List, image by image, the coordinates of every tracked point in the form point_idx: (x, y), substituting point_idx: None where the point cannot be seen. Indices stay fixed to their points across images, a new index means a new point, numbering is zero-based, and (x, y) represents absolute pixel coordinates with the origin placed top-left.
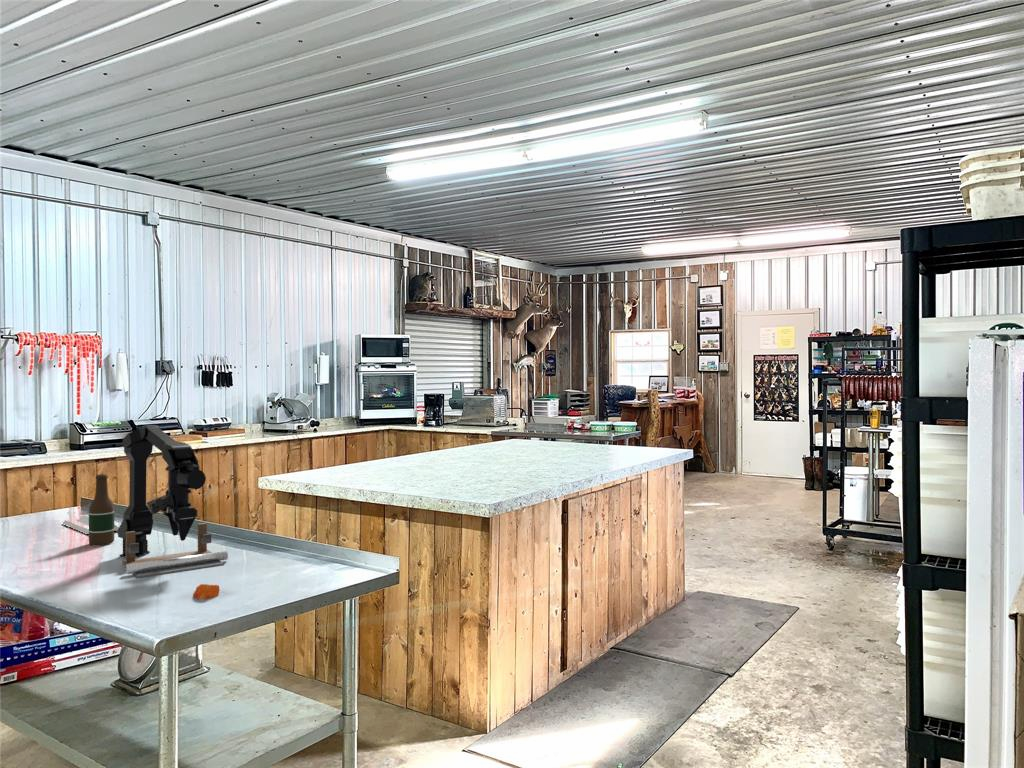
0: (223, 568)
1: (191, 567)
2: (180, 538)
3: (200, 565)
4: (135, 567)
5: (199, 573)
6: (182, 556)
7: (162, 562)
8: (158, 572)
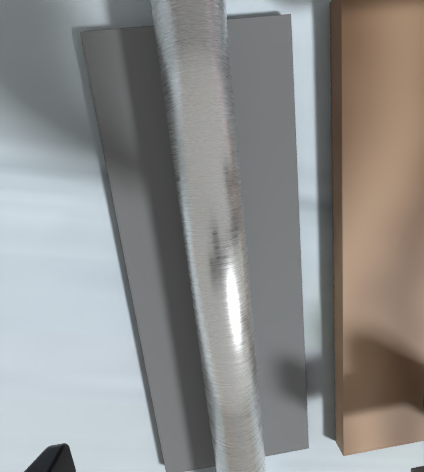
0: (97, 461)
1: (157, 340)
2: (31, 468)
3: (178, 381)
4: (153, 4)
5: (41, 363)
6: (408, 319)
7: (184, 202)
8: (124, 168)
